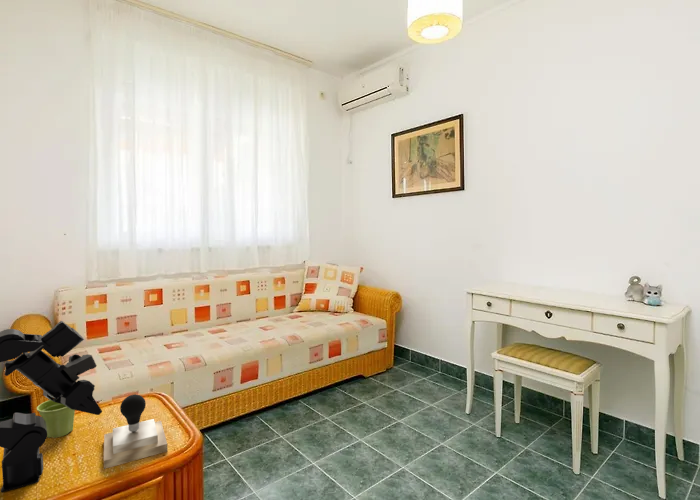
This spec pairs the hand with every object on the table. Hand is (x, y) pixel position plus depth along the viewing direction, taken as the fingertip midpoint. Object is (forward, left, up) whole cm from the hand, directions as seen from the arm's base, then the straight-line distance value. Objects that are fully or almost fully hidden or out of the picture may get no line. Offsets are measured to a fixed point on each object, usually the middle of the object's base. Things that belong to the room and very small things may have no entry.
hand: (93, 410), depth 98 cm
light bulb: (+9, 0, -8) cm, 12 cm away
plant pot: (-9, +19, -12) cm, 24 cm away
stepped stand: (+9, 0, -12) cm, 15 cm away
